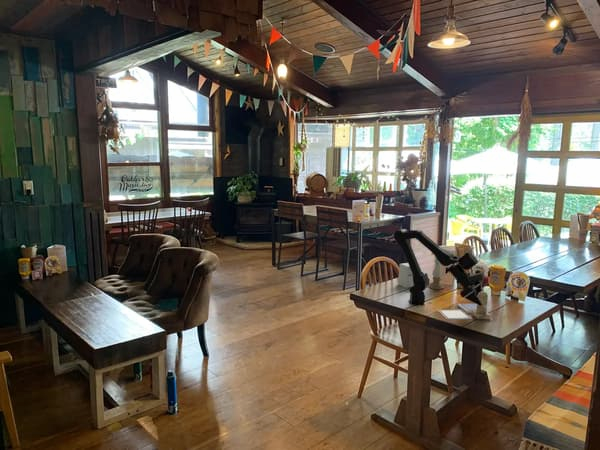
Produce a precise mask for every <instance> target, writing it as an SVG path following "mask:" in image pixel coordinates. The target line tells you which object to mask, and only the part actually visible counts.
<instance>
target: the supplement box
mask: <svg viewBox="0 0 600 450" xmlns="http://www.w3.org/2000/svg"><path fill="white" fill-rule="evenodd" d="M398 266H399V268H398V278H397V281H398V282H397V283H398V284H397V285H398V286H401V287H402V288H406V289H409V288H411V287H412V286H414V283H413V274H412V271H411V269H410V267H409V264H408V262H404V263H399V265H398Z"/></svg>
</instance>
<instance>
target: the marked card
mask: <svg viewBox="0 0 600 450" xmlns="http://www.w3.org/2000/svg"><path fill="white" fill-rule="evenodd" d="M437 312H439V313H440V314H441V315H442V316H443V317H444V318H445V319H447V320H473V318H472V317H471V316H470V315H468V313H466V312H465V311H464V310H462V309H437Z"/></svg>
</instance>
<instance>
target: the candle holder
mask: <svg viewBox="0 0 600 450" xmlns="http://www.w3.org/2000/svg"><path fill="white" fill-rule="evenodd" d="M431 255H433V256H434V258H435V260H434V261H433V262H434V263H435V264H434V268H433V270H432V272H431V275H432V278H431V279H432V281H431V282H429V283H430V284H429V286H428V287H427V288H430V289H432V290H444V289H445V286H444V285H443V283H442V282H440V281H441V280H442V278H441V277H442V276H443V272H442V270H441V263H440V262H439V261H438V260H437V258H436V256H435V255H434V254H433V253H432V252H431Z"/></svg>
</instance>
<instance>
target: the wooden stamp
mask: <svg viewBox="0 0 600 450" xmlns="http://www.w3.org/2000/svg"><path fill="white" fill-rule="evenodd" d="M477 297H478V298H479V300H480V302H481V303H482V305H481V306H479V305H478V304H477V308H476V310H472V313H471V316H472V317H473V318H474V319H476V320H477V321H490V320H491V314H490V313H488V310H487V309H488V301H489V295H488V292H486V291H483V290H482V291H481V292H479V293H478V296H477Z"/></svg>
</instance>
